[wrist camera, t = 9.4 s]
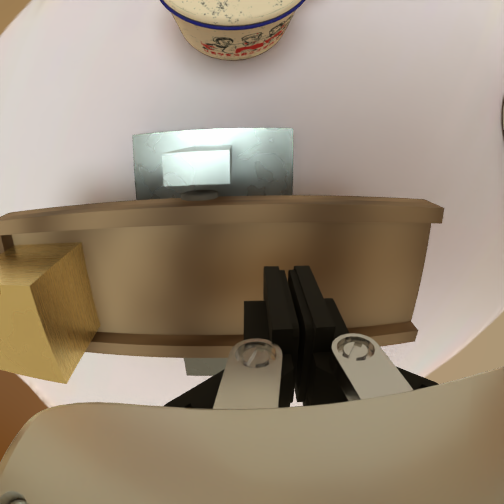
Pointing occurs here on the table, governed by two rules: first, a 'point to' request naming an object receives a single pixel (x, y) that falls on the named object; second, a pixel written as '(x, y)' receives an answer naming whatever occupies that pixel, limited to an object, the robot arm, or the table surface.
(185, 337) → the balance beam
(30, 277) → the block
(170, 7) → the teacup with lid
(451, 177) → the table surface
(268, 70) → the table surface
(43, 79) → the table surface
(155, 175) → the pivot stand
